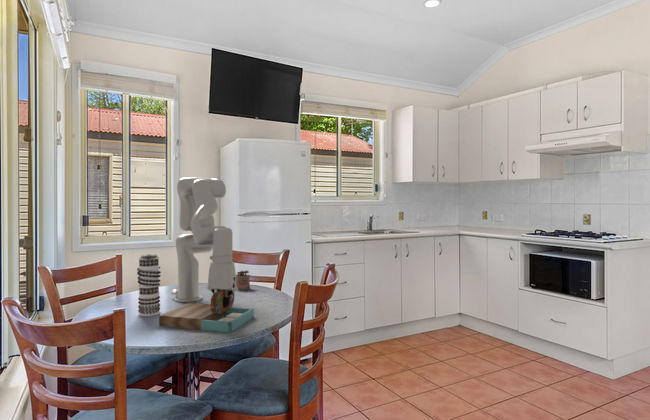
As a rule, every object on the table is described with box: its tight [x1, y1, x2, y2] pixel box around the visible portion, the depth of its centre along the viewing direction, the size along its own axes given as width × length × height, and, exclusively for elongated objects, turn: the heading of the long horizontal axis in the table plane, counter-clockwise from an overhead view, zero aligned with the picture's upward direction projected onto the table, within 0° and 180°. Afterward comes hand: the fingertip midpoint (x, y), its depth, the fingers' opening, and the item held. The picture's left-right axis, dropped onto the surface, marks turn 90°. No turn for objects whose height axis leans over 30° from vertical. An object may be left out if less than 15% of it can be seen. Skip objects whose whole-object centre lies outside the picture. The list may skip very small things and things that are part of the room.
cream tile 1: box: [218, 318, 234, 322], centre depth 156 cm, size 5×5×2 cm
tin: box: [210, 288, 235, 314], centre depth 160 cm, size 15×3×8 cm, turn 165°
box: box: [200, 306, 255, 333], centre depth 160 cm, size 12×20×4 cm, turn 166°
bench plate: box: [158, 302, 226, 331], centre depth 164 cm, size 18×20×4 cm
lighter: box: [236, 270, 251, 291], centre depth 221 cm, size 8×3×10 cm, turn 117°
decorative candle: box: [136, 253, 162, 317], centre depth 173 cm, size 9×9×25 cm
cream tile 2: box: [226, 313, 242, 319], centre depth 163 cm, size 5×5×2 cm
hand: (222, 305), depth 160 cm, fingers closed on tin, 2 cm apart
